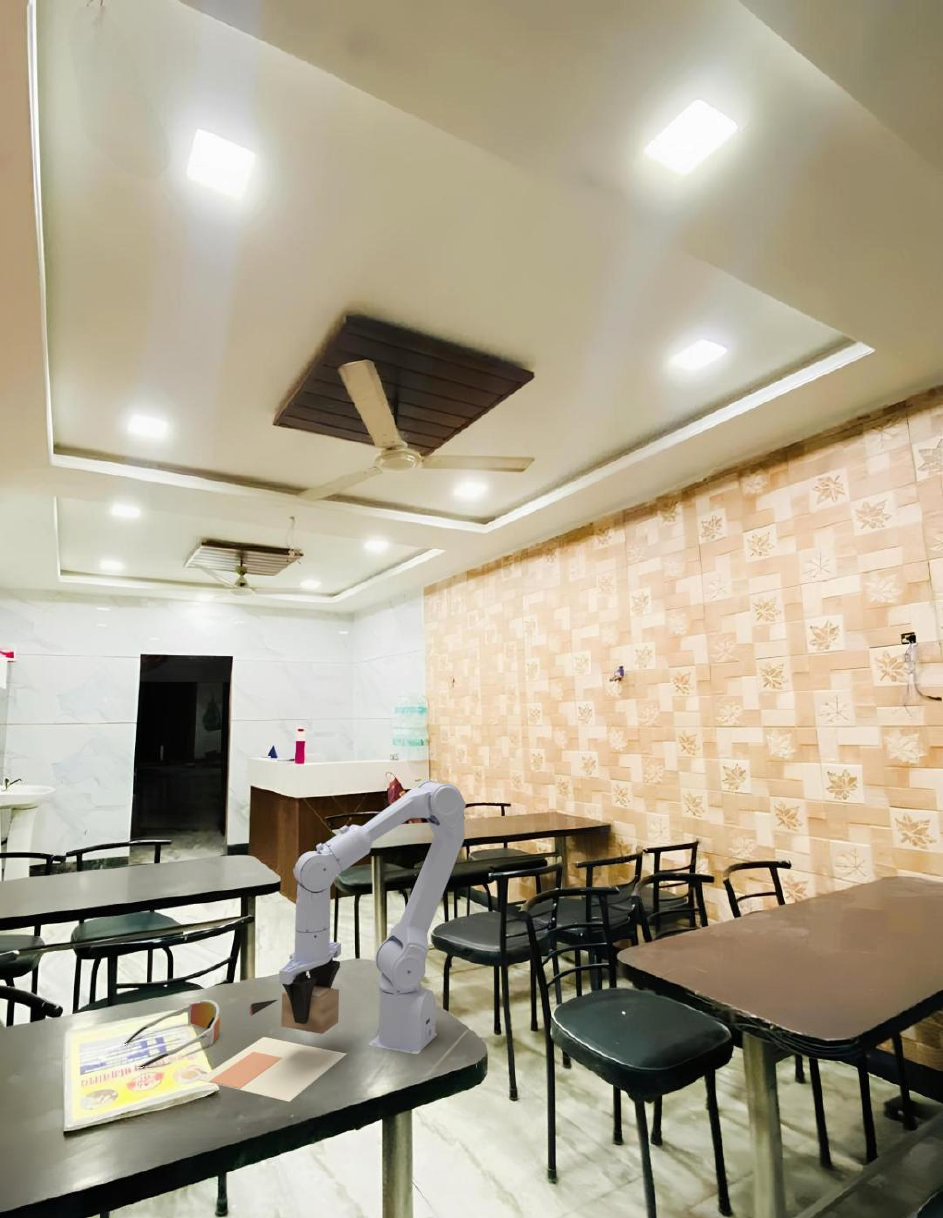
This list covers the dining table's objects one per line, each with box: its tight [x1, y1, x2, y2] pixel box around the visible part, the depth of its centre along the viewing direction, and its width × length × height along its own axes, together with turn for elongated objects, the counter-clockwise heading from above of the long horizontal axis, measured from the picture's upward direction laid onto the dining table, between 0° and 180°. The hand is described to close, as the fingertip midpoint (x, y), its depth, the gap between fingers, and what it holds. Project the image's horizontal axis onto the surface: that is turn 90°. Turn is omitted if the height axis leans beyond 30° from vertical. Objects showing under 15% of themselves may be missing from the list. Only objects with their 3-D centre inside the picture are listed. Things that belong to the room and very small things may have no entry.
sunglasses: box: [123, 999, 221, 1068], centre depth 113 cm, size 14×15×5 cm
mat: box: [197, 1036, 347, 1103], centre depth 103 cm, size 17×15×1 cm
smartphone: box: [249, 998, 279, 1016], centre depth 122 cm, size 7×1×15 cm
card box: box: [280, 986, 340, 1035], centre depth 107 cm, size 8×4×5 cm, turn 68°
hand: (310, 1016), depth 107 cm, fingers closed on card box, 4 cm apart
